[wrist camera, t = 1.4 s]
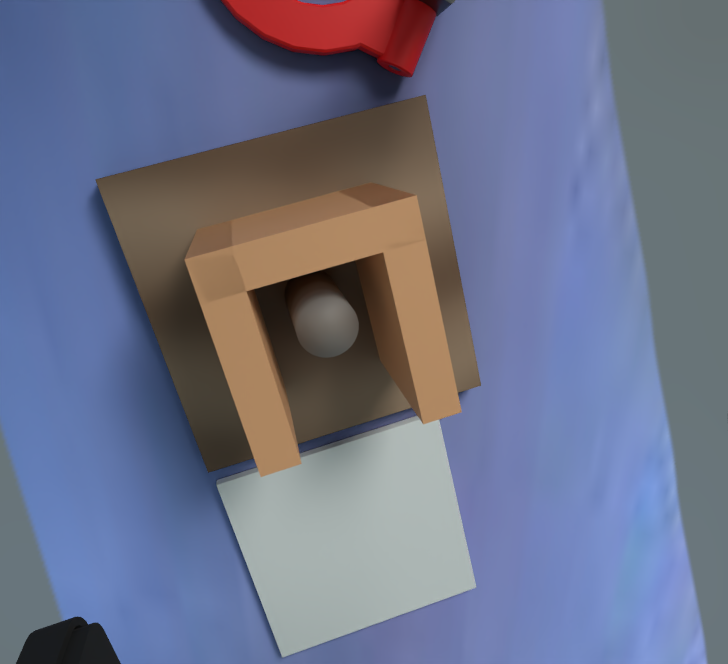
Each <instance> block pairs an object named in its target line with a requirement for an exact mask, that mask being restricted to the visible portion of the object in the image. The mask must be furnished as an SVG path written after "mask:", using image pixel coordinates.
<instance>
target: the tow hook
mask: <svg viewBox="0 0 728 664" xmlns="http://www.w3.org/2000/svg"><path fill="white" fill-rule="evenodd" d="M221 1H222V2H223V4H224V5H225V6H226V7H227V9H228V10H229V11H230V12H231V14H232V15H233V16H234V17H235V18H236V19H237V20H238V21H239V22H241V23H242V24H243V25H245V26H246V27H247V28H249V29H250V30H251V31H253V32H254V33H255V34H257V35H258V36H259V37H260V38H262V39H263V40H266V41H268V42H270V43H273V44H275V45H278V46H280V47H282V48H285V49H287V50H290V51H292V52H298V53H306V54H315V55H323V56H325V55H331V54H336V53H342V52H348V51H354V50H356V49H359V50H361V51H363V52H365V53H367V54H369V55H371V56H373V57H376V58H378V59H377V62H378V63H379V64H380V65H381V66H382V67H383V68H385V69H387V70H388V71H390V72H392V73H395V74H397V75H400V76H404V77H412V75H413V72H414V70H415V67H416V65H417V62H418V60H419V57H420V55H421V52H422V50H423V47H424V45H425V42H426V40H427V37H428V35H429V32H430V30H431V27H432V25H433V22H434V20H435V17H436V16H438V15H439V14H440V13H441V12H443V11H444V10H445V9H446V8H448V7H449V6H450V5H451V4H452V3H453V2H454V1H455V0H346V1H344V2H340V3H334V4H327V5H318V4H310V3H303V2H300V1H298V0H221Z"/></svg>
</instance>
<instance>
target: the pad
mask: <svg viewBox="0 0 728 664" xmlns="http://www.w3.org/2000/svg"><path fill="white" fill-rule="evenodd" d="M299 454H300V458H301V463H302V464H300V465H297V466H294V467H291V468H288V469H284V470H281V471H278V472H275V473H272V474H269V475H266V476H263V477H261V476H260V473H259V471H258V468H257V467H256V468H253V469H250V470H247V471H244V472H240V473H237V474H234V475H231V476H228V477H225V478H222V479H219V480H217V484H216V485H217V488H218V491H219V493H220V496H221V498H222V501H223V504H224V506H225V509H226V511H227V514H228V517H229V519H230V522H231V524H232V527H233V530H234V532H235V535H236V538H237V540H238V543H239V545H240V548H241V551H242V553H243V556H244V558H245V561H246V564H247V566H248V569H249V571H250V574H251V577H252V579H253V582H254V585H255V587H256V590H257V592H258V595H259V598H260V600H261V603H262V605H263V608H264V611H265V613H266V616H267V618H268V621H269V624H270V626H271V629H272V632H273V634H274V637H275V639H276V642H277V645H278V647H279V650H280V652H281V655H282V658H283V657H285V656H288V655H291V654H294V653H296V652H299V651H302V650H305V649H307V648H310V647H313V646H316V645H318V644H321V643H324V642H327V641H330V640H332V639H335V638H338V637H341V636H343V635H346V634H349V633H352V632H354V631H357V630H360V629H363V628H366V627H368V626H371V625H374V624H377V623H379V622H382V621H385V620H388V619H390V618H393V617H396V616H399V615H401V614H404V613H407V612H410V611H413V610H415V609H418V608H421V607H424V606H426V605H429V604H432V603H435V602H437V601H440V600H443V599H446V598H448V597H451V596H454V595H457V594H460V593H462V592H465V591H468V590H471V589H473V588H476V584H475V579H474V575H473V570H472V566H471V561H470V557H469V552H468V548H467V543H466V539H465V534H464V530H463V525H462V521H461V516H460V512H459V507H458V503H457V498H456V494H455V489H454V485H453V480H452V476H451V471H450V467H449V462H448V458H447V453H446V449H445V444H444V440H443V435H442V431H441V426H440V422H439V420H436V421H432V422H429V423H426V424H423V423H422V422H421V420H420V419H419V417H418V416H414V417H411V418H408V419H405V420H402V421H399V422H396V423H393V424H390V425H386V426H383V427H380V428H377V429H374V430H371V431H368V432H365V433H362V434H358V435H355V436H352V437H349V438H346V439H343V440H340V441H337V442H334V443H331V444H327V445H324V446H321V447H318V448H315V449H312V450H309V451H306V452H303V453H299Z"/></svg>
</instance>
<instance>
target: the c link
mask: <svg viewBox="0 0 728 664" xmlns="http://www.w3.org/2000/svg"><path fill="white" fill-rule="evenodd" d="M184 260H185V263H186V266H187V268H188V271H189V274H190V277H191V280H192V283H193V285H194V288H195V291H196V294H197V297H198V300H199V303H200V305H201V308H202V311H203V314H204V317H205V320H206V323H207V325H208V328H209V331H210V334H211V337H212V340H213V342H214V345H215V348H216V351H217V354H218V357H219V360H220V362H221V365H222V368H223V371H224V374H225V377H226V379H227V382H228V385H229V388H230V391H231V394H232V397H233V399H234V402H235V405H236V408H237V411H238V414H239V417H240V419H241V422H242V425H243V428H244V431H245V434H246V436H247V439H248V442H249V445H250V448H251V451H252V454H253V456H254V459H255V462H256V465H257V468H258V471H259V473H260V476H261V477H263V476H266V475H269V474H272V473H275V472H278V471H281V470H284V469H288V468H291V467H294V466H297V465H300V464H302V463H301V458H300V454H299V449H298V444H297V440H296V435H295V430H294V425H293V421H292V416H291V411H290V407H289V402H288V397H287V392H286V388H285V385H284V382H283V379H282V376H281V373H280V369H279V366H278V363H277V360H276V357H275V353H274V350H273V347H272V344H271V341H270V338H269V334H268V331H267V328H266V325H265V322H264V319H263V315H262V312H261V309H260V306H259V303H258V300H257V296H256V293H255V290H254V289H256V288H260V287H263V286H267V285H270V284H274V283H277V282H281V281H284V280H288V279H291V278H295V277H298V276H302V275H305V274H309V273H312V272H316V271H319V270H323V269H326V268H330V267H333V266H337V265H340V264H344V263H347V262H351V261H354V260H355V262H356V266H357V270H358V274H359V278H360V282H361V286H362V290H363V294H364V298H365V302H366V306H367V310H368V314H369V318H370V322H371V326H372V330H373V334H374V338H375V342H376V346H377V350H378V354H379V358H380V361H381V363H382V364H383V365H384V367H385V368H386V370H387V371H388V373H389V374H390V376H391V377H392V379H393V380H394V382H395V383H396V385H397V386H398V388H399V389H400V391H401V392H402V394H403V395H404V397H405V398H406V400H407V401H408V403H409V404H410V405H411V407H412V408H413V410H414V411H415V413H416V414H417V416H418V417H419V419H420V420H421V422H422V423H423V424H426V423H429V422H432V421H436V420H439V419H442V418H445V417H448V416H451V415H454V414H457V413H460V412H461V407H460V402H459V397H458V392H457V387H456V383H455V378H454V373H453V368H452V363H451V358H450V354H449V349H448V344H447V339H446V334H445V329H444V325H443V320H442V315H441V310H440V305H439V300H438V296H437V291H436V286H435V281H434V276H433V271H432V267H431V262H430V257H429V252H428V247H427V242H426V237H425V233H424V228H423V223H422V218H421V213H420V208H419V204H418V199H417V195H414V194H411V193H407V192H404V191H400V190H397V189H393V188H390V187H386V186H382V185H379V184H375V183H372V182H370V183H367V184H363V185H359V186H355V187H352V188H348V189H344V190H341V191H337V192H333V193H330V194H326V195H322V196H319V197H315V198H311V199H308V200H304V201H300V202H297V203H293V204H289V205H285V206H282V207H278V208H274V209H271V210H267V211H263V212H260V213H256V214H252V215H249V216H245V217H241V218H238V219H234V220H230V221H227V222H223V223H219V224H215V225H212V226H208V227H204V228H201V229H197V231H196V233H195V236H194V238H193V240H192V243H191V245H190V247H189V250H188V252H187V254H186V257H185V259H184Z"/></svg>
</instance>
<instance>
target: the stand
mask: <svg viewBox="0 0 728 664" xmlns="http://www.w3.org/2000/svg"><path fill="white" fill-rule="evenodd" d="M370 182H372V183H375V184H379V185H382V186H386V187H390V188H393V189H397V190H400V191H404V192H407V193H411V194H414V195H417V199H418V204H419V208H420V213H421V218H422V223H423V228H424V233H425V237H426V242H427V247H428V252H429V257H430V262H431V267H432V271H433V276H434V281H435V286H436V291H437V296H438V300H439V305H440V310H441V315H442V320H443V325H444V329H445V334H446V339H447V344H448V349H449V354H450V358H451V363H452V368H453V373H454V378H455V383H456V387H457V392H458V393H459V392H462V391H465V390H468V389H471V388H474V387H478V386H481V382H480V377H479V372H478V367H477V362H476V356H475V351H474V346H473V341H472V335H471V330H470V325H469V320H468V314H467V309H466V304H465V299H464V293H463V288H462V283H461V278H460V272H459V267H458V262H457V257H456V251H455V246H454V241H453V236H452V231H451V225H450V220H449V215H448V210H447V204H446V199H445V194H444V189H443V183H442V178H441V173H440V168H439V162H438V157H437V152H436V147H435V141H434V136H433V131H432V126H431V121H430V115H429V110H428V105H427V100H426V95H423V96H419V97H415V98H411V99H407V100H403V101H400V102H396V103H392V104H388V105H384V106H380V107H376V108H372V109H368V110H364V111H361V112H357V113H353V114H349V115H345V116H341V117H337V118H333V119H329V120H326V121H322V122H318V123H314V124H310V125H306V126H302V127H298V128H294V129H290V130H287V131H283V132H279V133H275V134H271V135H267V136H263V137H259V138H255V139H251V140H248V141H244V142H240V143H236V144H232V145H228V146H224V147H220V148H216V149H212V150H209V151H205V152H201V153H197V154H193V155H189V156H185V157H181V158H177V159H173V160H170V161H166V162H162V163H158V164H154V165H150V166H146V167H142V168H138V169H135V170H131V171H127V172H123V173H119V174H115V175H111V176H107V177H103V178H99V179H96V183H97V185H98V188H99V190H100V193H101V196H102V198H103V201H104V203H105V206H106V208H107V211H108V214H109V216H110V219H111V221H112V224H113V227H114V229H115V232H116V234H117V237H118V240H119V242H120V245H121V247H122V250H123V253H124V255H125V258H126V260H127V263H128V266H129V268H130V271H131V273H132V276H133V279H134V281H135V284H136V286H137V289H138V292H139V294H140V297H141V299H142V302H143V305H144V307H145V310H146V312H147V315H148V318H149V320H150V323H151V325H152V328H153V330H154V333H155V336H156V338H157V341H158V343H159V346H160V349H161V351H162V354H163V356H164V359H165V362H166V364H167V367H168V369H169V372H170V375H171V377H172V380H173V382H174V385H175V388H176V390H177V393H178V395H179V398H180V401H181V403H182V406H183V408H184V411H185V414H186V416H187V419H188V421H189V424H190V427H191V429H192V432H193V434H194V437H195V439H196V442H197V445H198V447H199V450H200V452H201V455H202V458H203V460H204V463H205V465H206V468H207V471H208V473H209V472H212V471H215V470H218V469H221V468H224V467H228V466H231V465H234V464H237V463H240V462H243V461H246V460H249V459H253V458H254V456H253V454H252V451H251V448H250V445H249V442H248V439H247V436H246V434H245V431H244V428H243V425H242V422H241V419H240V417H239V414H238V411H237V408H236V405H235V402H234V399H233V397H232V394H231V391H230V388H229V385H228V382H227V379H226V377H225V374H224V371H223V368H222V365H221V362H220V360H219V357H218V354H217V351H216V348H215V345H214V342H213V340H212V337H211V334H210V331H209V328H208V325H207V323H206V320H205V317H204V314H203V311H202V308H201V305H200V303H199V300H198V297H197V294H196V291H195V288H194V285H193V283H192V280H191V277H190V274H189V271H188V268H187V266H186V263H185V260H184V259H185V257H186V254H187V252H188V250H189V247H190V245H191V243H192V240H193V238H194V236H195V233H196V231H197V229H201V228H204V227H208V226H212V225H215V224H219V223H223V222H227V221H230V220H234V219H238V218H241V217H245V216H249V215H252V214H256V213H260V212H263V211H267V210H271V209H274V208H278V207H282V206H285V205H289V204H293V203H297V202H300V201H304V200H308V199H311V198H315V197H319V196H322V195H326V194H330V193H333V192H337V191H341V190H344V189H348V188H352V187H355V186H359V185H363V184H367V183H370ZM254 290H255V293H256V296H257V300H258V303H259V306H260V309H261V312H262V315H263V319H264V322H265V325H266V328H267V331H268V334H269V338H270V341H271V344H272V347H273V350H274V353H275V357H276V360H277V363H278V366H279V369H280V373H281V376H282V379H283V382H284V385H285V388H286V392H287V397H288V402H289V407H290V411H291V416H292V421H293V425H294V430H295V435H296V440H297V444H299V443H303V442H306V441H309V440H312V439H315V438H318V437H321V436H324V435H328V434H331V433H334V432H337V431H340V430H343V429H346V428H349V427H353V426H356V425H359V424H362V423H365V422H368V421H371V420H374V419H378V418H381V417H384V416H387V415H390V414H393V413H396V412H399V411H403V410H406V409H409V408H412V407H411V405H410V404H409V403H408V401H407V400H406V398H405V397H404V395H403V394H402V392H401V391H400V389H399V388H398V386H397V385H396V383H395V382H394V380H393V379H392V377H391V376H390V374H389V373H388V371H387V370H386V368H385V367H384V365H383V364H382V363H381V361H380V358H379V354H378V350H377V346H376V342H375V338H374V334H373V330H372V326H371V322H370V318H369V314H368V310H367V306H366V302H365V298H364V294H363V290H362V286H361V282H360V278H359V274H358V270H357V266H356V262H355V260H354V261H351V262H347V263H344V264H340V265H337V266H333V267H330V268H326V269H323V270H319V271H316V272H312V273H309V274H305V275H302V276H298V277H295V278H291V279H288V280H284V281H281V282H277V283H274V284H270V285H267V286H263V287H260V288H256V289H254Z"/></svg>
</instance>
